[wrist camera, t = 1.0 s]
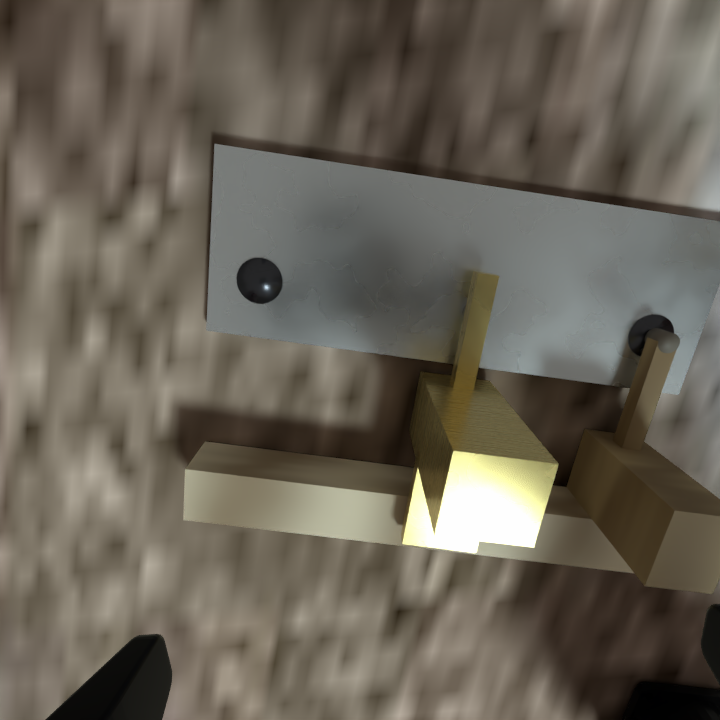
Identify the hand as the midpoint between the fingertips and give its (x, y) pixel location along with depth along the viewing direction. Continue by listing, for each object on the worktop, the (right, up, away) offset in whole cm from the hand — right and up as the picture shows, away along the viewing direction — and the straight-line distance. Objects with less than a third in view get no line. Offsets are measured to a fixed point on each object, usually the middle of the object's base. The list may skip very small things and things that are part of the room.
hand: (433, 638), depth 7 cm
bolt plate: (+3, +8, +11) cm, 14 cm away
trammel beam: (+2, +2, +12) cm, 13 cm away
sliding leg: (+3, +3, +12) cm, 13 cm away
